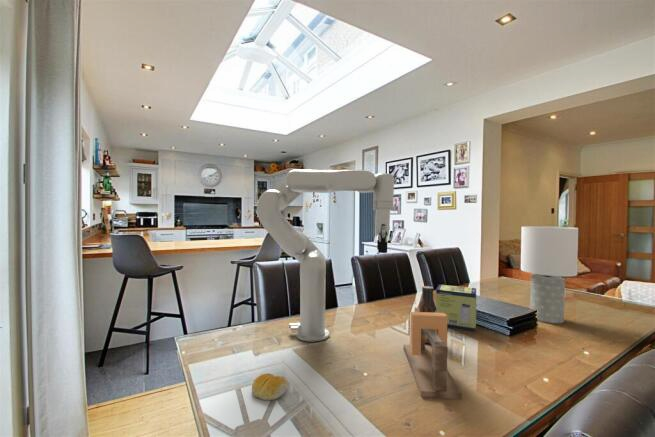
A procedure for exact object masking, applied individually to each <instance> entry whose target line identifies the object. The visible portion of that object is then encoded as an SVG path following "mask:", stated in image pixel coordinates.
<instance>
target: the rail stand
mask: <svg viewBox="0 0 655 437" xmlns="http://www.w3.org/2000/svg"><path fill="white" fill-rule="evenodd" d="M425 334H426V336H427V338H428V339H429V341H430V343H429V344H431V345H426V343H425ZM403 351H404V355H405V357H406V359H407V362H408V365H409V367H410V368H409V369H410V371H411V373H412V375H413V379H414V382H415V384H416V387H417V389H418V392H419V395H420V397H421V398H436V399H450V400H451V399H452V400H455V399H456V400H462V392H461V390H460V389H459V387H458V385H457V383H456V382H455V380H454V379H453V377H452V376H451V373H450V372H449V370H448V345H447V346H446V344H445V343H444V342H442V341H441V340H440V338H439V337H438V335H437V334H436V332H435V331H434V330H433V329H421V356H420V355H412V354H411V351H410V344H403Z"/></svg>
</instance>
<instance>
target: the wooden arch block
mask: <svg viewBox="0 0 655 437" xmlns="http://www.w3.org/2000/svg"><path fill="white" fill-rule="evenodd" d="M409 329H410V331H409V332H410V338H409V339H410V341H409V342H410V343H409V345H410V351H411V354H412V355H420V356H421V329H436V331H435V332H436V334H437V335H438V337H439V338H440V340H441V341H442V342H444V343H445V344H446V346H447V347H448V328H447V315H446V314H445V313H431V312H419V311H410V328H409Z"/></svg>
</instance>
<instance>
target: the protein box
mask: <svg viewBox="0 0 655 437" xmlns="http://www.w3.org/2000/svg"><path fill="white" fill-rule="evenodd" d="M435 294H436V295H435V306H436V309H437V313H445V314H446V315H447V329H453V330H461V331H466V332H473V333H475V332H476V329H477V288H476V287H469V286H468V287H466V286H457V285H446V284H438V286H437V287H436V291H435Z"/></svg>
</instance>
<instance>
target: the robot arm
mask: <svg viewBox="0 0 655 437" xmlns="http://www.w3.org/2000/svg"><path fill="white" fill-rule="evenodd" d="M344 191H347V192H350V191H351V192H358V193H360V194H367V193H373V198H372V200H373V203H372V204H373V205H372V206H373V207H372V210H373V211H375V217H374V235H375V236H376V237H377V242H376V243H377V244H376V245H377V246H376V248H377V249H376V250H377V252H378V253H379V254H387V253H388V237H389V235H390V225H391V224H390V222H391V219H390V218H391V211H394V194H395V193H394V191H395V176H394V175H393V174H392V173H385V172H384V173H381V172H380V173H376V174H375V173H373V172H371V171H369V170H366V169H365V170H362V169H361V170H360V169H340V170H339V169H338V170H337V169H334V170H333V169H328V170H327V169H324V170H323V169H321V170H320V169H319V170H318V169H292V170H290V171H288V172H287V173H286V175H285V177H284V180H283V182H282V183H281V184H280V185H278V186H277V187H276V188H275V189H274V188H273V189H267V190H265V191H263V192H262V193H261V195H260V197H259V198H258V200H257V204H256V213H257V214H256V215H257V218H258V220H259V222H260V224H261V225H262V227H263V228H264V229H265V231H266V232H267V233H268V234H269V235H270V236H271V238H272V239H273V240H274V241H275V242H276V243H277V245H278V246H279V247H280V248H281V249H282V250H283V252H284V253H285V254H286V255H288V256H289V257H292V258H293V257H294V258H295V260H297V261H298V263H300V265H299V266H300V267H299V278H300V280H299V281H300V283H299V285H300V289H299V290H300V291H299V292H300V293H299V298H300V302H299V303H300V306H299V308H300V309H299V312H300V314H299V315H300V316H299V318H300V319H299V322H296V323H295V322H294V323H293V322H290V323H289V324H288V328H289V329H290V331H296V332H295V337H296V338H297V339H298V340H301V341H304V342H310V343H316V342H321V341H324V340H327V339H328V338H329V336H330V332H329V330H328V329H327V328H326V273H327V271H326V269H327V268H326V267H327V263H326V257H325V256H324V254H323V253H322V251H321V250H320V249H319V248H318V247H317V246H316V245H315V244H314V243H313V241H312V240H311V239H310V238H309V237H308V236H307V235H306V234H305V233H304V232H302V231H299V230H297V229H296V227H294V226H293V225H292V224H291V223H290V222H289V221H288V219H287V218H286V217H285V216H284V215H283V213H282V211H283V210H284V209H286V208H287V207H288V206H289V205H291V203H293V202H294V201H295V200H296V199H297V198H298V197H300V196H301V195H302V194H303V193H319V194H321V193H322V194H326V193H327V194H329V193H335V192H344Z"/></svg>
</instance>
